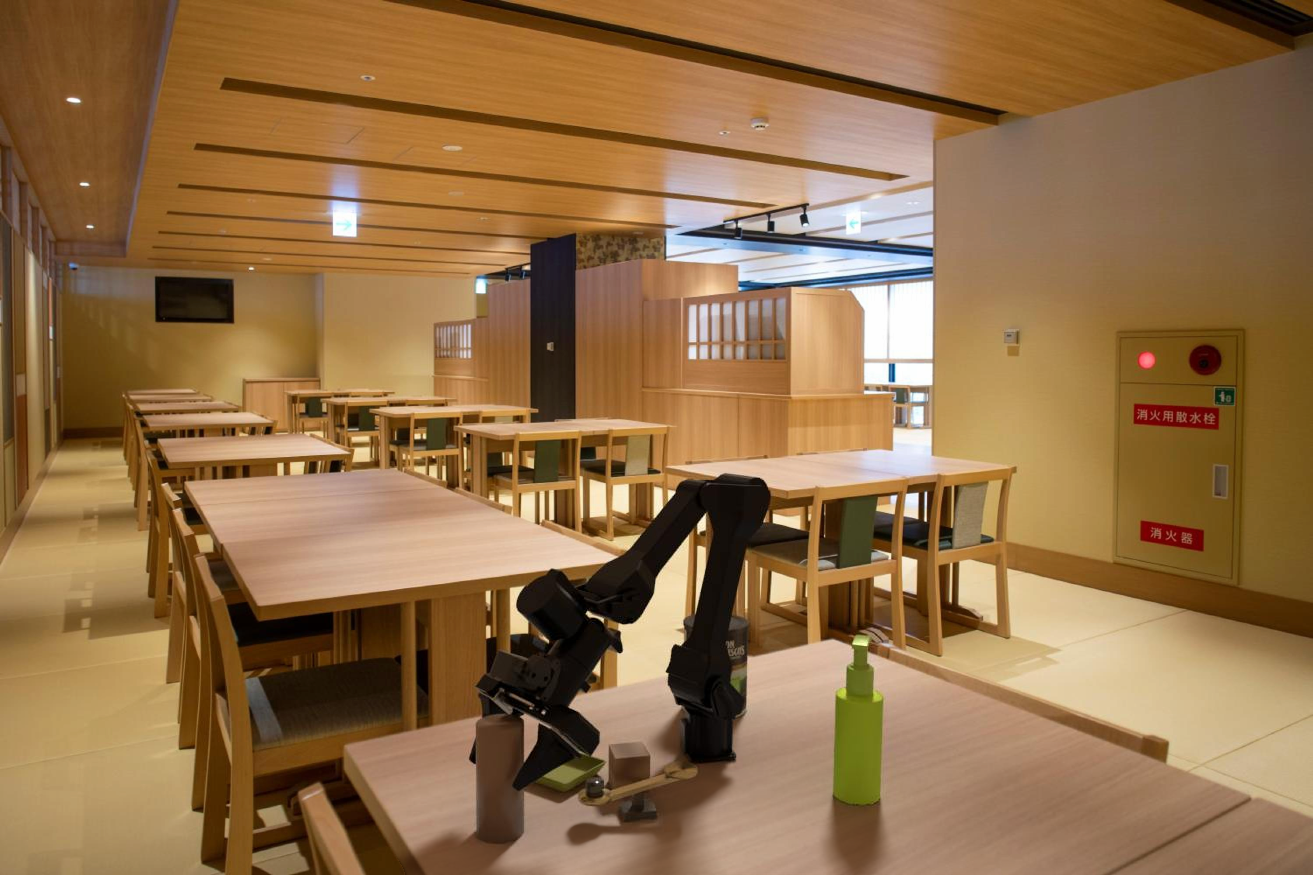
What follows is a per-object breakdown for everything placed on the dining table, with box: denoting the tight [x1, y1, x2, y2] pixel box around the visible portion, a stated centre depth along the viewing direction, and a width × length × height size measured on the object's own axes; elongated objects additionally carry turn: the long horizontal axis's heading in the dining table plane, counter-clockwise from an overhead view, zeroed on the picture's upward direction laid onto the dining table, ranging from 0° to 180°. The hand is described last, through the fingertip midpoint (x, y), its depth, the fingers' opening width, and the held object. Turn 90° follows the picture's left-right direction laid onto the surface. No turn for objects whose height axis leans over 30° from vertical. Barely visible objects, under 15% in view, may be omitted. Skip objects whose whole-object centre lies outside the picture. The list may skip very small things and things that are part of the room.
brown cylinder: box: [475, 714, 525, 845], centre depth 110 cm, size 6×6×13 cm
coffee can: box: [681, 613, 750, 719], centre depth 149 cm, size 10×10×14 cm
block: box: [607, 741, 651, 795], centre depth 122 cm, size 4×4×5 cm
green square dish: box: [534, 751, 607, 793], centre depth 125 cm, size 9×9×2 cm
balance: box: [577, 760, 698, 823], centre depth 115 cm, size 15×4×5 cm, turn 104°
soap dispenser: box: [832, 634, 884, 806], centre depth 120 cm, size 6×7×20 cm
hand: (492, 774), depth 109 cm, fingers open, 9 cm apart
